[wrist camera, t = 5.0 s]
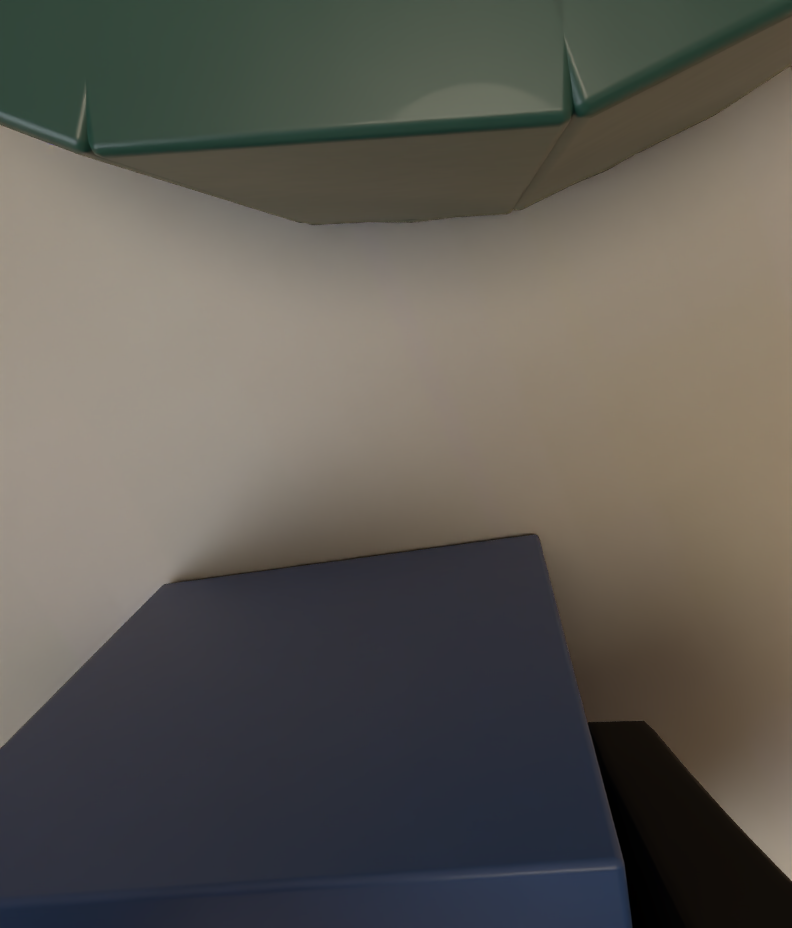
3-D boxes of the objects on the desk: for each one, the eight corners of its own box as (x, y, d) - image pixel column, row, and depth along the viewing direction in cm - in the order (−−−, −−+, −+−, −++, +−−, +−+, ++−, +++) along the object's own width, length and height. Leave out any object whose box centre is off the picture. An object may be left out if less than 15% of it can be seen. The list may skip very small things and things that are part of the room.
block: (538, 531, 9) (625, 862, 4) (585, 862, 10) (696, 1432, 5) (162, 582, 9) (-169, 913, 4) (249, 884, 10) (62, 1398, 6)
